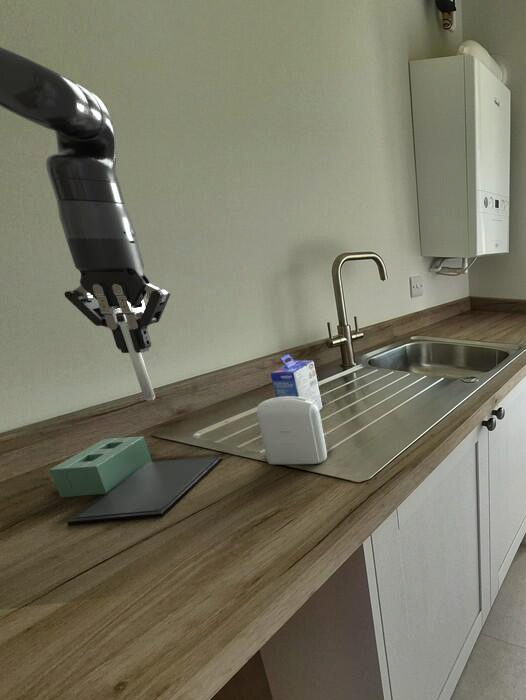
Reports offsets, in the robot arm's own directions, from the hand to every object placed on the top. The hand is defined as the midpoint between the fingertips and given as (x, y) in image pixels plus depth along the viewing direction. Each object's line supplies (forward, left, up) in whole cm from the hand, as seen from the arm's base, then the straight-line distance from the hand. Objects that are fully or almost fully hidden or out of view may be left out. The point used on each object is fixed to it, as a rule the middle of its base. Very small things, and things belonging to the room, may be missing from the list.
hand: (136, 351), depth 65 cm
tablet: (+1, -6, -22) cm, 22 cm away
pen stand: (-9, -1, -22) cm, 23 cm away
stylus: (0, 0, -8) cm, 8 cm away
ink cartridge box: (+15, +22, -22) cm, 34 cm away
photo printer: (+21, 0, -22) cm, 30 cm away
